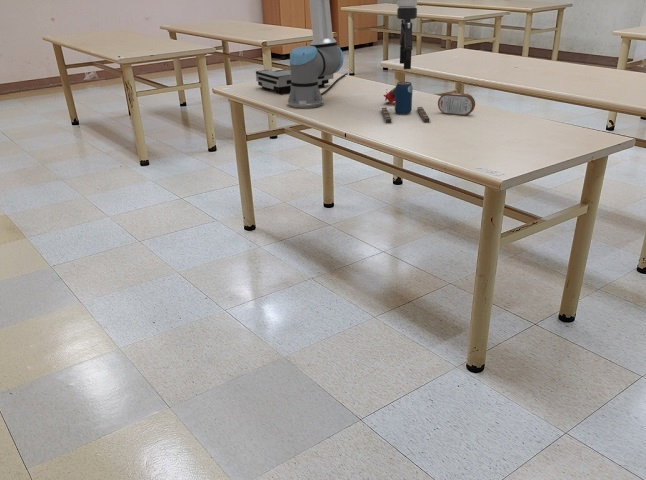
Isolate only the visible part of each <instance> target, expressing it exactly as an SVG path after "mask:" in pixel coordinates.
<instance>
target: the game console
mask: <svg viewBox="0 0 646 480" xmlns="http://www.w3.org/2000/svg"><path fill="white" fill-rule="evenodd" d="M255 79H256V82H257V84H258V86H260V87H261V89H262V90H266V91H272V90H274V91H275V93H276V94H280V95H288V94H289V95H290V91H291V70H290V68H287V69H281V70H275V71H274V70H271V69H262V70H255ZM330 80H334V74H332V75H326V76H321V77H318V88H319V89H323V88H324V89H325V87H326V86H325V85H326V84H329V81H330Z"/></svg>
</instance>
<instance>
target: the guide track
mask: <svg viewBox="0 0 646 480" xmlns="http://www.w3.org/2000/svg"><path fill="white" fill-rule="evenodd" d="M416 111H417V112H418V114H419V116H420V118H421V119H422V121H423V123H430V117H429V115H428V114H427V112H426V111H425V109H424V107H423V106H417V109H416ZM381 114H382V117H383V119H384V121H385V124H392V118H391V115H390V112H389V110H388V107H381Z"/></svg>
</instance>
